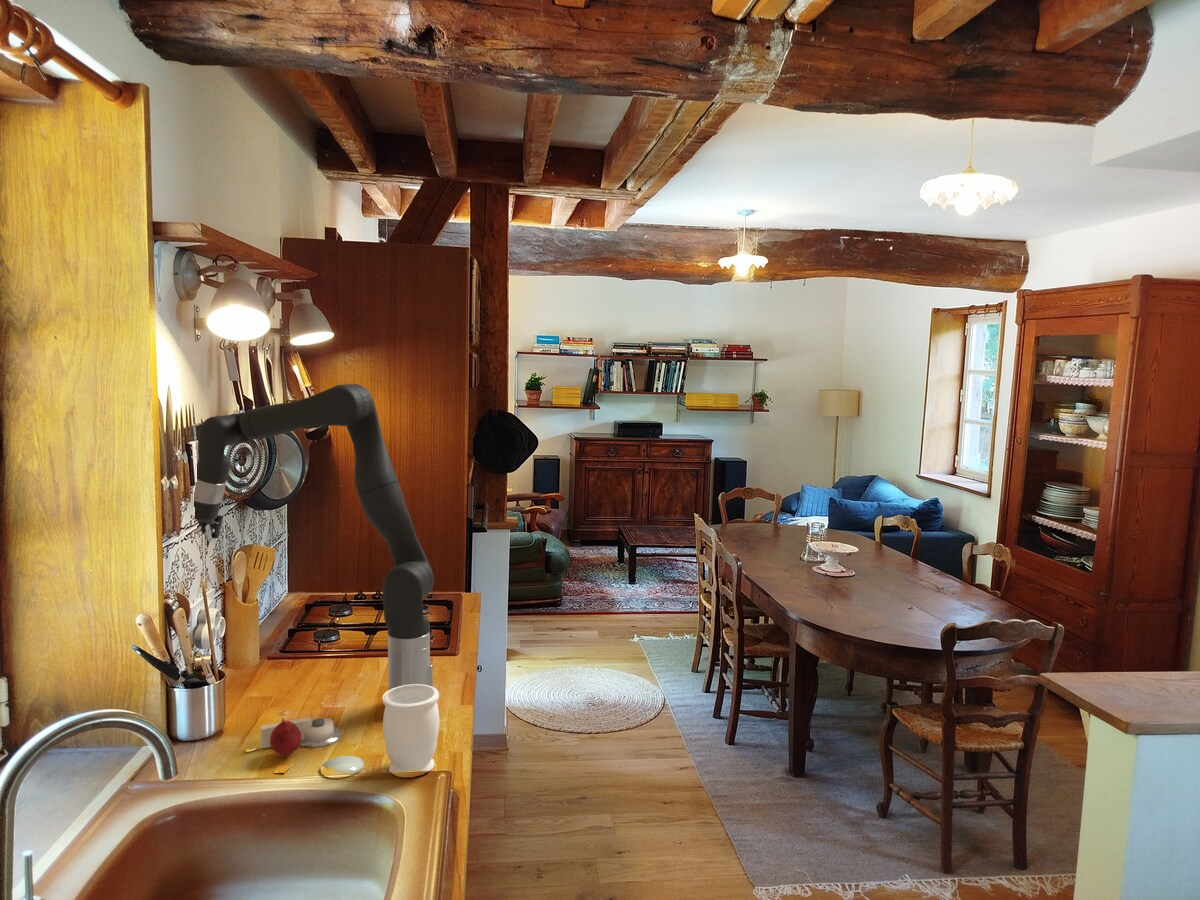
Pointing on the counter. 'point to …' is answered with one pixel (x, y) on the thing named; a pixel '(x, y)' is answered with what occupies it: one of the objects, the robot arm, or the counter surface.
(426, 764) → the jar
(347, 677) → the counter surface
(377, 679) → the counter surface
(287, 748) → the onion
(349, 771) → the coaster
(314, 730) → the handle
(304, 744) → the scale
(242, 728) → the counter surface
